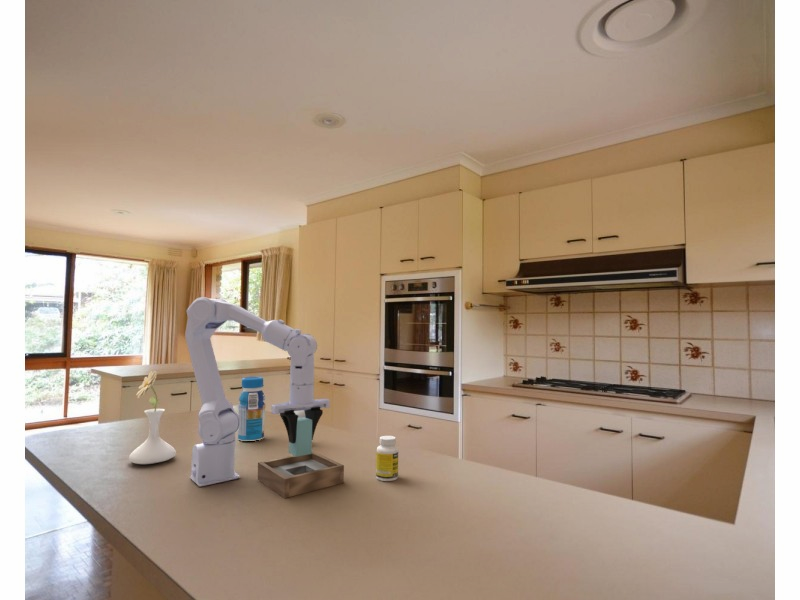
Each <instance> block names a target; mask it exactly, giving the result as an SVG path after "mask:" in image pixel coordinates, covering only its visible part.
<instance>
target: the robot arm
mask: <svg viewBox="0 0 800 600" xmlns="http://www.w3.org/2000/svg"><path fill="white" fill-rule="evenodd" d="M186 314H187V321H186V328H185V332H184V333H185V334H184V337H185V343H186V346H187V350H188V353H189V357H190V361H191V365H192V369H193V373H194V378H195V381H196V385H197V390H198V393H199V397H200V400H201V404H202V406H201V408H200V410H199V413H198V415H197V417H198V421H199V422H198V423H199V424H198V427H197V428H198V429H197V432H198V436H199V438H200V439H201V441H202V442H201V443H197V444H194V445H193V446H192V451H191V466H190V467H191V470H190V477H189V478H190V479H191V480H192V482H194V483H195V484H196V485H197V486H198V487H204V486H209V485H214V484H218V483H224V482H228V481H232V480H238V479H241V475H239V474H238V473H237V472H236V471H235V459H236V458H235V457H236V455H235V454H236V432H237V431H238V428H239V426H240V418H239V413H237V412H236V411H235V409H234V406H233V404H232V402H230V400H228V399H227V397H226V393H225V391H224V386H223V383H222V379H221V375H220V371H219V367H218V364H217V360H216V356H215V352H214V348H213V344H212V341H211V338H212V336H213V335H214V333H215V332H216V331H217V329H219V328H220V327H222V326H223V325H224V324H226V322H227V321H229V322H233V321H234V322H236V323H238V324H240V325H242V326H245V327H247V328H249V329H251V330H254V331H255V332H258V333H260V334H261V337H262V339H263V341H264V342H267V343H269V344H270V345H273V346H274V347H277V348H279V349H281V350H282V351H285V352H287V353H288V355H289V356H290V366H289V368H290V370H289V401H286V402H282V403H277V404H271V411H270V412H271V414H272V415H279V416H280V418H281V420H282V422H283V424H284V427H285V429H286V433H287V438H288V443H289V442H291V443H295V442H296V426H297V420H298V415H296V414H295V413H294V411H300V410H304V411H305V417H306V418H308V419H311V420H312V441H313V440H314V435H315V432H316V428H317V425H318V424H319V421H320V419H321V417H322V415H323V409H322V408H326V409H327V408H331V407H330V406H331V405H330V404H331V401H330V399H329V398H318V399H314V397H315V396H314V395H315V353H316V351H317V349H318V343H317V339H316V338H315V337H314V336H312V335H311V334H310V333H301V332H302V329H299V328H296V329H295V328H293V327H291V326H289V325H287V324H285V322H286V321H284V320H282V319H277V320H276V319H272V320H269V321H267V320H266V319H263V318H262V317H260V316H258V315H256V314H255V313H252V312H251V311H249V310H247V309H246V308H244V307H242V306H239V305H238V304H236V303H233V302H229V301H227V300H225V299H222V298H220V299H215V298H208V297H205V296H202V297H201V296H200V297H197V298H196V299H194V300H193V301H192V302H191V303H190V305H189V306H188V307H187V309H186Z"/></svg>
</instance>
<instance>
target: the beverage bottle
mask: <svg viewBox="0 0 800 600" xmlns="http://www.w3.org/2000/svg"><path fill="white" fill-rule="evenodd" d="M263 387H264V377H263V376H262V377H261V376H249V377H248V376H247V377H243V378H242V379H241V389H243V390H242V392H241V393H240V395H239V397H238V401H239V404H238V416H239V418H240V426H239V428H238V430H237V431H238V433H237V439H239V440H243V441H250V440H257V439H261V438H263V437H264V438H265V420H266V419H265V412H266V403H265V400H266V396H265V393H264V392H263V390H262V388H263ZM264 438H263V439H264ZM239 440H238V441H239Z"/></svg>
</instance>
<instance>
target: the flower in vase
mask: <svg viewBox="0 0 800 600" xmlns="http://www.w3.org/2000/svg"><path fill="white" fill-rule="evenodd" d="M157 374H158V373H157V371H156V370H153V371H152V370H151V371H150V372H149V373H148V376H145V377H143V381H142V383H141V385H139V386H138V391H137V392H136V394H135V396H137V397H136V398H137V399H141V398H142V397H144V396H145V395H146V394H147V393H148V392H149V390H150V389H152V392H153V394H154V396H155V397H154V396H153V395H152V396H150V398H149V399H148V402H149V403H150V404H151V405H152V406H153V407H152V408H151V409H145V410H144V414H145V416H146V417H147V419H148V420H147V421H148V435H147V438H146V439H145V441H144V442H142V443H141V444H140V445H139V446H138V447H136V448H135V449H134V450H133V451H132V452H131V453H130V454H129V456H128V460H129V462H131V463H133V464H136V465H151V464H157V463H163V462H165V461H168V460H170V459H172V458H174V457H175V455H176V454H177V451H176V449H175V448H174V447H173V446H172V445H171V444H169V443H167V442H166V441H165V440H164V439H162V437H160V433H159V426H160V420H161V417H162V415H163V413H164V412H165V411H166V410H165V408H157V407H158V405H159V404H160V402H159V399H158V396H157V392H156V391H155V388H154V387H153V385H154V383H155V381H156V379H157Z"/></svg>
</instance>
